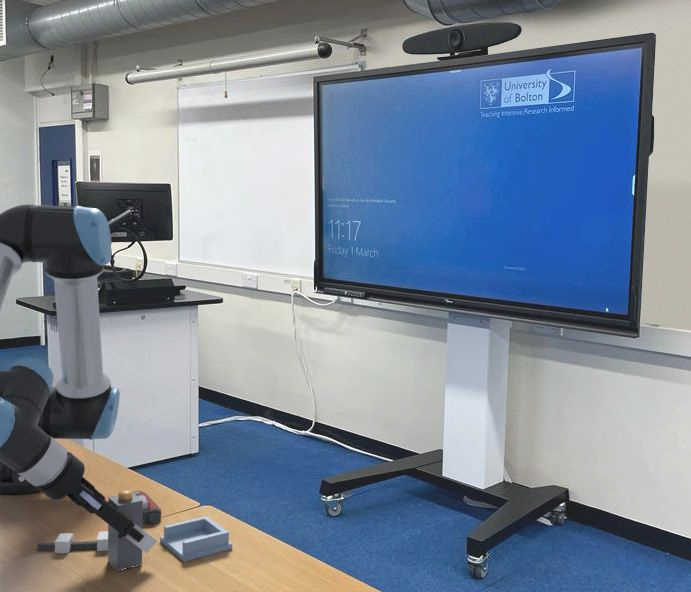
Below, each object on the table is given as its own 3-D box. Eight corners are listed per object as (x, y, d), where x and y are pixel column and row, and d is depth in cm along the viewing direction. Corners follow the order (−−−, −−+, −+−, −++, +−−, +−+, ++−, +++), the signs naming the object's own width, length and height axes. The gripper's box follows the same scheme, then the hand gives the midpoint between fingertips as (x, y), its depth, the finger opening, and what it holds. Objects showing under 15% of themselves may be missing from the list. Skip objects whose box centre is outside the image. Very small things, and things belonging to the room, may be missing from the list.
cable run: (39, 545, 143) (38, 534, 142) (129, 541, 146) (129, 530, 146) (35, 554, 139) (35, 543, 139) (128, 550, 142) (128, 538, 142)
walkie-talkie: (102, 508, 162) (130, 545, 145) (103, 488, 162) (130, 523, 145) (143, 501, 167) (174, 537, 150) (144, 482, 166) (175, 515, 149)
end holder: (160, 541, 146) (160, 525, 146) (207, 530, 153) (207, 514, 152) (183, 561, 139) (183, 544, 138) (232, 548, 145) (232, 532, 144)
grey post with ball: (107, 561, 137) (108, 490, 136) (132, 555, 140) (132, 486, 139) (117, 571, 134) (118, 498, 132) (141, 565, 137) (142, 493, 135)
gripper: (20, 471, 133) (112, 541, 145) (52, 504, 119) (151, 578, 131) (52, 437, 135) (139, 508, 147) (86, 465, 122) (180, 541, 133)
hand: (145, 541), depth 139 cm, fingers closed on grey post with ball, 4 cm apart
